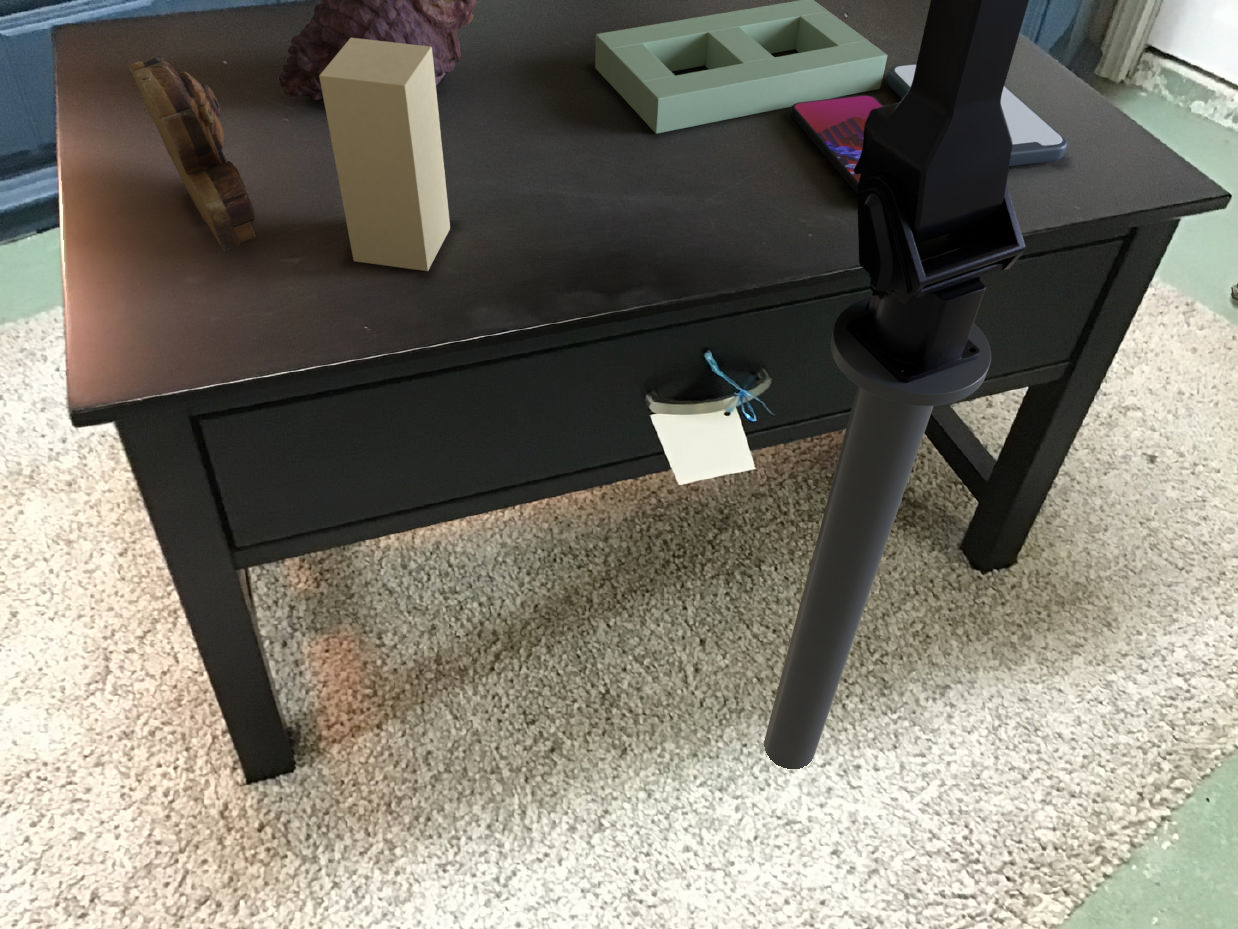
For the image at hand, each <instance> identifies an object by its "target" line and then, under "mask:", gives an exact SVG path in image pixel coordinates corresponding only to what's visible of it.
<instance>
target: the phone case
mask: <svg viewBox="0 0 1238 929" xmlns="http://www.w3.org/2000/svg"><path fill="white" fill-rule="evenodd" d="M916 64H917V63H909V64H908V63H907V64H898V65H893V66H892V67H890V69H888V75H887V79H886V83H887V86H888V87H889V88H890V89H891V90H892V91H893V92H894V93H895V95H897V96H898V97H899V98H900V99H901V100H902V99H903V98H904V97H905V95H906V94H907V93H908V91H909V89H910V87H911V84H912V81H913V77H914V73H915V69H916ZM1001 106H1002V109H1003V112H1004V116H1005V119H1006V122H1007V125H1008V129H1009V132H1010V135H1011V138H1012V152H1011V159H1010V165H1009V167H1017V166H1022V165H1024V166H1025V165H1033V164H1041V163H1050V162H1056V161H1059V160H1061V159H1063V157H1064V155H1065V152H1066V149H1067V147H1068V141H1067V139H1066V138H1065V137H1064V136H1063V135H1062V134H1061V133H1059V132H1058V130H1056V129H1055V128H1054V127H1052V126H1051V125H1050V124H1049V123H1048V122H1047V121H1046V120H1045V119H1044V118H1042V117H1041V116H1040V115H1039V114H1038V113H1036V112H1035V110H1033V109H1032V108H1031V107H1030V106H1029V105H1028V104H1027V103H1025V102H1024V101H1023V100H1022V99H1021V98H1020V97H1018V95H1016V93H1014V92H1013V91H1012V90H1011V89H1009V87H1007V86H1006V85H1004V88H1003V91H1002V96H1001Z"/></svg>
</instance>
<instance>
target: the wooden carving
mask: <svg viewBox="0 0 1238 929" xmlns="http://www.w3.org/2000/svg"><path fill="white" fill-rule="evenodd" d="M129 69H130V71H131V74H132V76H133V78H134V81H135V83H136V85H137V88H138V90H139V91H140V94H141V96H142V98H143V100H144V104H145V107H146V109H147V112H148V115H149V116H150V118H151V119H152V121H153V123H154V124H155V126H156V128H157V131H158V133H159V135H160V138H161V139H162V143H163V145H164V147H165V149H166V151H167V153H168V155H169V157H170V159H171V161H172V164H173V165H174V167H175V169H176V171H177V173H178V175H179V177H180V179H181V181H182V183H183V185H184V186H185V189H186V190H187V192H188V194H189V196H190V198H191V199H192V202H193V203H194V205H195V207H196V209H197V210H198V212H199V214H200V216H201V218H202V219H203V221H204V222H205V223H206V225H208V227H209V229H210V230H211V232H212V234H213V236H214V238H215V239H216V241H217V243H218V244H219V245H220V247H221V249H222V250H223V251H228V250H230V249H233V248H235V247H238V246H240V244H241V243H243V242H246V241H248V240H252V239H255V238H256V234H255V231H254V228H253V224H252V223H253V222H254V221H255V211H254V210H255V209H254V207H253V203H252V201H251V199H250V196H249V194H248V192H247V190H246V186H245V183H244V180H243V179H242V177H241V174H240V172H239V170H238V168H237V167H236V166H235V165H234V163H233V162H231V161H230V160H227V158H226V157H225V154H224V153H223V148H224V141H225V140H224V139H225V134H224V130H223V126H222V123H221V121H220V117H221V107H220V103H219V102H218V99H217V97H216V95H215V93H214V92H213V90H212V89H211V88H210V86H209V85H207V84H206V83H203V84H201V83H200V82H199V81H198V80H196V79H195V78H194V77H193V76H192V75H190V74H189V73H188V72H187V71H185V70H183V71H180V72H178V71H177V70H176V69H175V68H174V67H173V66H172V64H170V63H169V62H167V61H166V60H165V59H164V58H163V56H156V57H153V58H151V59H149V60H147V61H144V62H142V61H139V60H138V61H136V62H131V63H130V66H129Z"/></svg>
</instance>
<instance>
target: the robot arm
mask: <svg viewBox="0 0 1238 929" xmlns="http://www.w3.org/2000/svg"><path fill="white" fill-rule="evenodd" d="M1029 3H1030V0H930V2H929V7H928V11H927V16H926V19H925V25H924V29H923V33H922V38H921V42H920V46H919V47H920V48H919V51H918V56H917V60H916V63H915V64H916V69H915V73H914V77H913V81H912V84H911V87H910V89H909V91H908V93H907V94H906V95H905V97H904V98H903V99H901V100H900V102H899V101H898V102H895V103H892V104H891V103H890V104H887V105H883V107H879V108H876V109H872V110H871V111H870V113H869V116H868V118H867V120H866V122H865V125H864V137H863V147H862V152H861V155H860V158H859V161H858V163H857V164H856V166H855V168H854V173H855V174H861V175H860V179H859V183H858V190H857V193H856V196H857V197H856V199H857V200H856V202H857V204H856V205H857V234H858V236H857V237H858V263H859V266H860V267H861V268H862V269H863V270H864V271H866V272H867V273H868V275H869V278H870V282H869V285H870V291H871V292H872V294H871V296H868V297H867V298H868V301H867V304H866V308H865V310H866V311H867V312H868V313H867V315H864V316H861V317H858V318H854V319H851V320H849V321H848V323H847V327H846V328H847V330H848V331H849V332H850V333H851V334H852V335H853V336H854V337H855V338H856V339H857V340H858V341H859V342H860V343H861V344H862V345H863V346H864V347H865V348H866V349H867V350H868V351H869V352H870V353H871V354H872V355H873V356H874V357H875V358H876V359H877V360H878V361H879V362H880V363H881V364H882V365H883V366H884V367H885V368H886V369H887V370H888V371H889V372H890V373H891V374H892V375H893V376H894V377H895V378H896V379H897V380H898V381H900V382H902V383H909V382H912V381H915V380H918V379H920V378H923V377H926V376H929V375H932V374H935V373H938V372H940V371H943V370H946V369H949V368H952V367H955V366H958V365H961V364H963V363H966V362H969V361H972V360H975V359H977V358H978V356H979V353H980V350H979V348H978V347H977V346H975V345H974V344H973V343H972V342H971V341H970V340H969V339H968V338H969V335H970V332H971V329H972V326H973V323H974V324H975V321H976V318H977V315H978V312H979V309H980V307H981V304H982V300H983V298H984V295H985V292H986V289H987V285H986V284H984V283H983V282H982V281H981V277H983V276H986V275H989V274H991V273H994V272H997V271H1000V270H1001V271H1005V270H1009V269H1010V268H1011V267H1012V266H1013V265H1014V264H1015V263H1016V262H1017V261H1018V260H1019V258H1020V257H1021V256H1022V255H1023V254H1024V253H1025V251H1026V243H1025V240H1024V237H1023V233H1022V230H1021V226H1020V224H1019V220H1018V216H1017V213H1016V210H1015V206H1014V203H1013V199H1012V196H1011V192H1010V189H1009V185H1008V183H1007V182H1008V177H1009V169H1010V166H1009V165H1010V159H1011V152H1012V138H1011V135H1010V132H1009V129H1008V125H1007V122H1006V119H1005V116H1004V112H1003V109H1002V106H1001V96H1002V91H1003V88H1004V85H1005V84H1006V81H1007V77H1008V74H1009V71H1010V67H1011V64H1012V60H1013V57H1014V53H1015V50H1016V46H1017V43H1018V39H1019V35H1020V32H1021V30H1022V26H1023V22H1024V19H1025V16H1026V12H1027V9H1028V5H1029ZM1005 86H1006V85H1005ZM904 375H905V376H904Z"/></svg>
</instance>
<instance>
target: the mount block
mask: <svg viewBox="0 0 1238 929" xmlns="http://www.w3.org/2000/svg"><path fill="white" fill-rule="evenodd" d="M792 50H795V51H797V53H791V54H786V55H781V56H776V57H775V56H774V55H772V54H776V53H782V52H787V51H792ZM594 56H595V58H594V59H595V60H594V61H595V63H594V66H595V67H594V68H595V69H596V71H597V72H598V73H599V74H600V75H601V76H602V77H603V78H604V79H605V80H606V81H607V83H608V84H609V85H611V87H612V88H613V89H614V90H615V91H616V92H617V93H618V95H620V96H621V98H622V99H623V100H624V101H626V103H627V104H628V105H629V106H630V107H631V108H632V109H633V111H635V113H636V114H637V115H638V116H639V117H640V118H641V119H642V121H643V122H645V124H646V125H647V126H648V127H649V128H650V129H651V130H652V131H653V132H654V134H656V135H657V134H662V133H667V132H672V131H678V130H682V129H686V128H687V129H688V128H693V127H697V126H702V125H707V124H711V123H718V122H722V121H727V120H731V119H736V118H737V119H738V118H740V117H746V116H751V115H757V114H761V113H766V112H767V113H768V112H772V111H776V110H781V109H786V108H792V106H793V105H794V104H796V103H799V102H808V101H816V100H825V99H833V98H842V97H847V96H852V95H856V94H860V93H865V92H872V91H875V90H880V89H881V86H882V82H883V78H884V74H885V69H886V64H887V59H888V53H886V52H884V51H883V50H881V49H880V48H879V47H877V46H876V45H874V44H873V43H872V42H871V41H869V40H868V39H867V38H866V37H864V36H863V35H862V34H860V33H859V32H857V31H856V30H855V29H853V28H852V27H850V26H849V25H848V24H847V23H845V22H844V21H843V20H841V19H840V18H838V17H837V16H835V14H833V13H832V12H830V11H829V10H827V9H826V8H825V7H823V6H822V5H821V4H819V3H818V2H817V1H816V0H793V1H789V2H787V1H786V2H781V3H776V4H775V3H774V4H769V5H764V6H763V5H762V6H758V7H752V8H746V9H738V10H733V11H729V12H726V11H725V12H719V13H716V14H710V15H703V16H697V17H690V18H685V19H679V20H672V21H666V22H659V23H655V24H649V25H643V26H642V25H641V26H637V27H632V28H625V29H618V30H612V31H607V32H600V33H596V34H595V55H594ZM700 67H706V68H707V69H705V70H699V71H693V72H688V73H683V74H677V75H675V73H673V72H677V71H683V70H689V69H694V68H700Z"/></svg>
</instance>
